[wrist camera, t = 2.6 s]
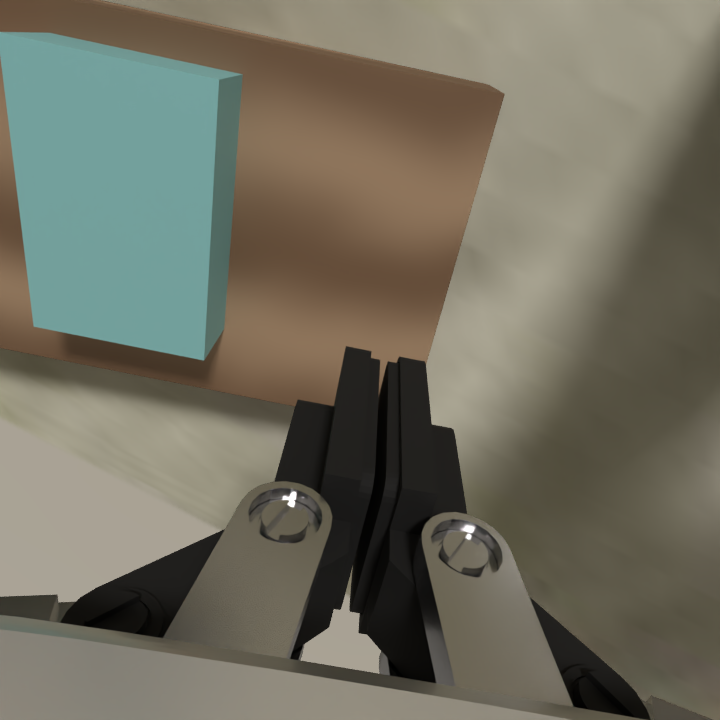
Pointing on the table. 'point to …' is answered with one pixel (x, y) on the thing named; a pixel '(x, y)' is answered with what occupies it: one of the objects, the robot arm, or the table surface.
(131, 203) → the teal rectangular block
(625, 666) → the table surface
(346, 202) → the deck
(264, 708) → the robot arm
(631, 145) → the table surface
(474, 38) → the table surface
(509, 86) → the table surface
